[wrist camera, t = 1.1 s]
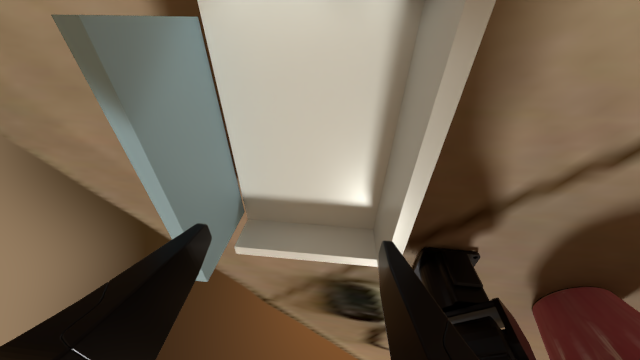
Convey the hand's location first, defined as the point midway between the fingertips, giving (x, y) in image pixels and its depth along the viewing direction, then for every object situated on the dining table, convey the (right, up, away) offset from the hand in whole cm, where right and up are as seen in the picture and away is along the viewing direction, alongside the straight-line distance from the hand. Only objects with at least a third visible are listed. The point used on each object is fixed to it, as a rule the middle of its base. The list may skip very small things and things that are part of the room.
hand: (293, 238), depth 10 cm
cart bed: (+1, +7, +10) cm, 12 cm away
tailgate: (-6, +6, +8) cm, 12 cm away
